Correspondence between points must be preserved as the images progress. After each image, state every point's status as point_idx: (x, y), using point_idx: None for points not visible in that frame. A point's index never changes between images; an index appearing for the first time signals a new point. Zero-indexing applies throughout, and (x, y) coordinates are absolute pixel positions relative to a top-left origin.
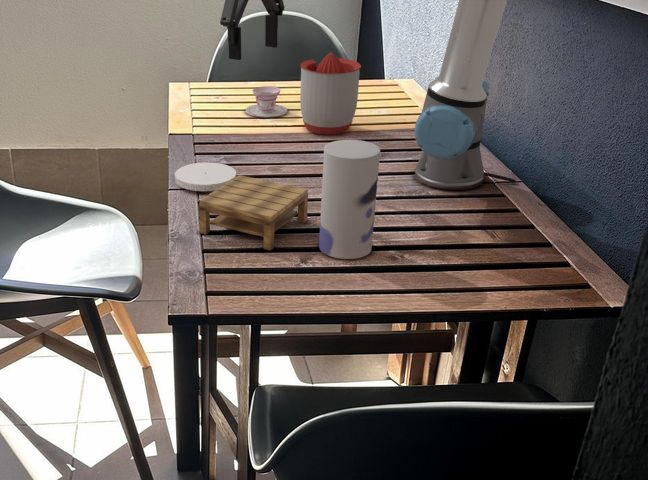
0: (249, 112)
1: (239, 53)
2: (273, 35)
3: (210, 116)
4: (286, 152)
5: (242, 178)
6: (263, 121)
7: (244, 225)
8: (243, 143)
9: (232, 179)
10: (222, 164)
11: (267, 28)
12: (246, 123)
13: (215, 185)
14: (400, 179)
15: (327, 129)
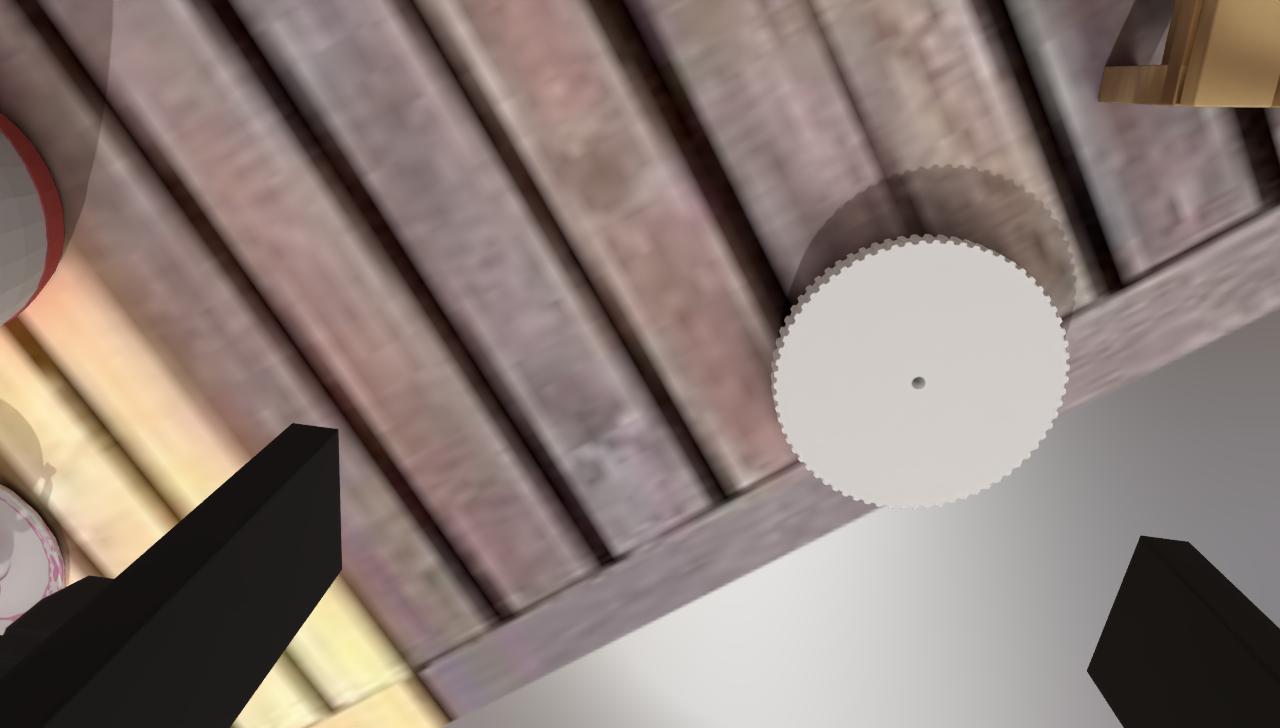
0: None
1: (1232, 594)
2: (260, 545)
3: None
4: (369, 229)
5: (1244, 61)
6: (86, 507)
7: None
8: (382, 454)
9: (933, 239)
10: (780, 370)
11: (211, 715)
12: None
13: (1029, 275)
14: None
15: (24, 152)
